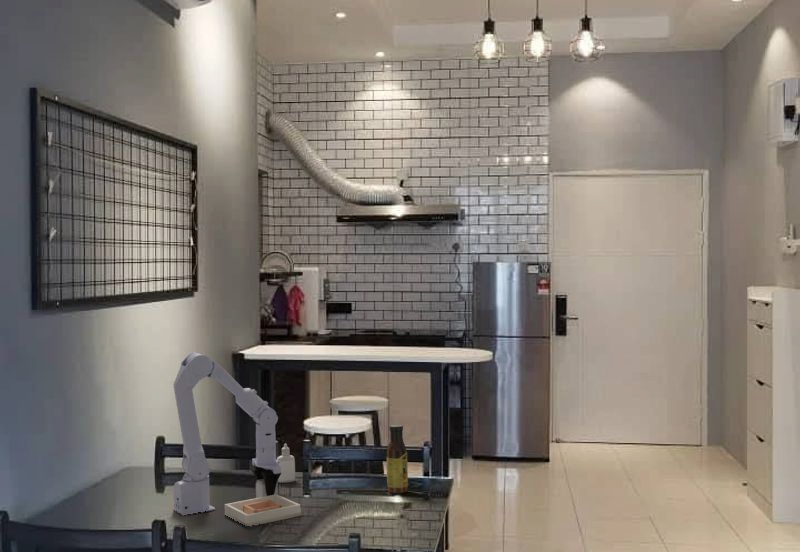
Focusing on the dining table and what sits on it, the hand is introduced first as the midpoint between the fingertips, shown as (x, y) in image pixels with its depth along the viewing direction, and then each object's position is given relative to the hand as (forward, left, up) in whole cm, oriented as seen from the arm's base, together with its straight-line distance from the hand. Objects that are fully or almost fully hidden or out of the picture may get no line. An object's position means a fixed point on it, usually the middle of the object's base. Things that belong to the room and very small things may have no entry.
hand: (266, 493), depth 245 cm
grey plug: (0, 0, -2) cm, 2 cm away
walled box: (-8, -13, -2) cm, 15 cm away
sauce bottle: (+35, -17, -2) cm, 39 cm away
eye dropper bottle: (+15, +16, -2) cm, 22 cm away
